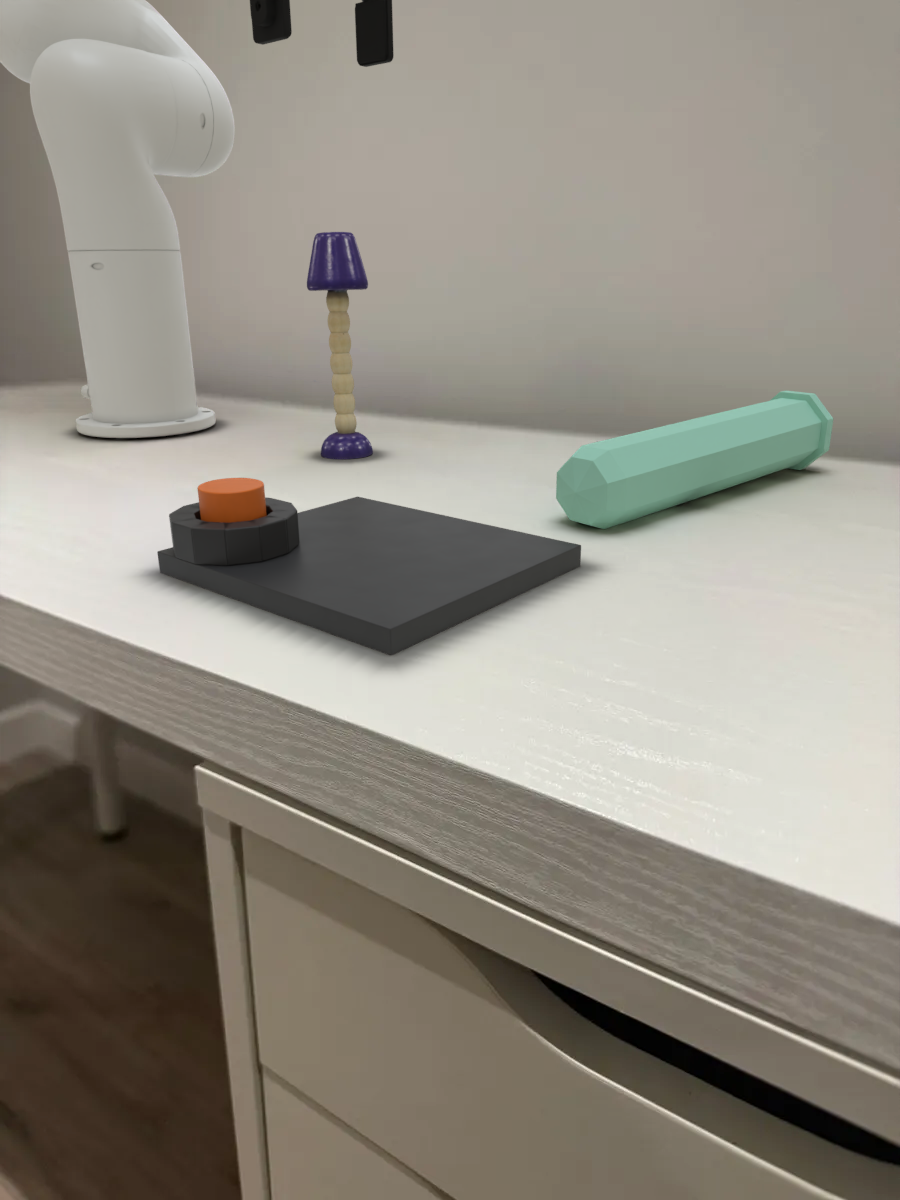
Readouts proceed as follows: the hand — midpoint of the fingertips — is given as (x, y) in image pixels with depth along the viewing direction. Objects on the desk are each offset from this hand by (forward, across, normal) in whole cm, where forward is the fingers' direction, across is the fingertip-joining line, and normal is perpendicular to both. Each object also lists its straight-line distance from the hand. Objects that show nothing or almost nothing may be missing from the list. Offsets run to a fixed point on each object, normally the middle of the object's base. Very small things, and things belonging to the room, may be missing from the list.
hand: (326, 52), depth 61 cm
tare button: (+26, +24, +16) cm, 39 cm away
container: (+28, -5, +28) cm, 40 cm away
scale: (+28, +20, +22) cm, 41 cm away
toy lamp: (+28, 0, 0) cm, 28 cm away
